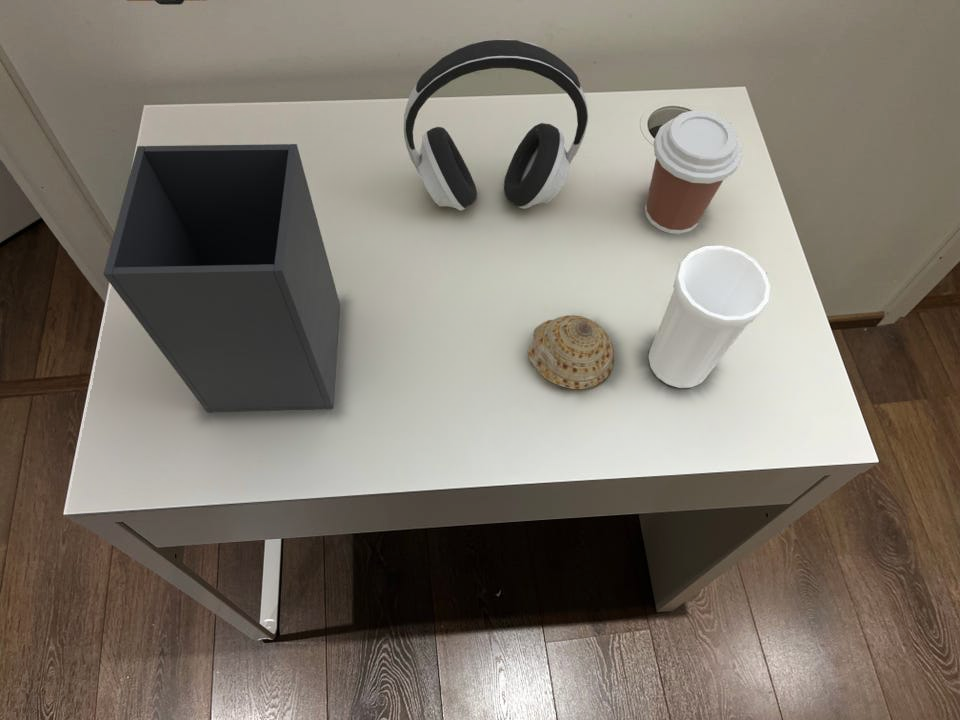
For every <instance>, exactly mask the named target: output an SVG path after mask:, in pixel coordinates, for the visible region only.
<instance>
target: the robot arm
mask: <svg viewBox="0 0 960 720" xmlns="http://www.w3.org/2000/svg"><path fill="white" fill-rule="evenodd" d="M154 2H156V3H157V4H158V5H161V6H162V5H163V6H165V5H166V6H167V5H168V6H169V5H172V6H173V5H177V6H178V5H182V4H183V3H184V2H185V1H184V0H155V1H154Z"/></svg>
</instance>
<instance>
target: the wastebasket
mask: <svg viewBox="0 0 960 720" xmlns="http://www.w3.org/2000/svg"><path fill="white" fill-rule="evenodd" d="M131 166H132V167H131V169H130V172H129V175H128V180H127V183H126V184H127V185H126V187H125V191H124V195H123V199H122V203H121V206H120V210H119V214H118V217H117V222H116V225H115V229H114V233H113V237H112V239H111V243H110V247H109V251H108V255H107V258H106V262H105V266H104V270H103V276H104V278H105V279H106V280H107V281H108V283H109V284H110V285H111V287H112V288H113V289H114V290H115V292H116V293H117V294H118V296H119V297H120V299H121V300H122V301H123V303H124V304H125V306H127V308H128V309H129V311H130V312H131V313H132V315H133V316H134V317H135V318H136V320H137V321H138V323H139V324H140V325H141V327H142V328H143V329H144V331H145V332H146V333H147V334H148V336H149V337H150V339H151V340H152V341H153V342H154V344H155V345H156V347H157V348H158V349H159V351H160V352H161V353H162V355H163V356H164V357H165V358H166V360H167V362H169V364H170V365H171V367H172V368H173V369H174V371H175V372H176V373H177V374H178V376H179V377H180V378H181V380H182V382H184V384H185V386H187V388H188V390H190V392H191V393H192V394H193V396H194V397H195V398H196V400H197V401H198V402H199V404H200V405H201V406H202V407H203V409H204V411H205V412H206V413H230V412H257V411H258V412H263V411H266V412H267V411H299V410H303V411H304V410H333V409H334V406H335V390H336V389H335V388H336V376H337V373H336V372H337V359H338V343H339V329H340V313H341V303H340V299H339V295H338V292H337V287H336V285H335V281H334V277H333V273H332V270H331V266H330V262H329V258H328V255H327V251H326V247H325V244H324V239H323V236H322V233H321V228H320V226H319V222H318V218H317V214H316V211H315V207H314V203H313V200H312V196H311V192H310V188H309V184H308V181H307V176H306V173H305V170H304V165H303V163H302V158H301V154H300V151H299V147H298V144H297V143H282V144H281V143H277V144H276V143H274V144H271V143H270V144H200V145H199V144H197V145H196V144H193V145H192V144H191V145H190V144H189V145H138V146H137V147H136V150H135V154H134V158H133V160H132V165H131Z"/></svg>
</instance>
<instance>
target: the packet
mask: <svg viewBox="0 0 960 720" xmlns="http://www.w3.org/2000/svg"><path fill="white" fill-rule="evenodd" d="M138 1H139V2H156V1H155V0H126V2H138ZM185 1H186V2H187V1H188V2H189V1H190V2H192V1H194V2H195V1H197V2H199V1H200V2H201V1H206V0H184V2H185Z"/></svg>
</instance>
